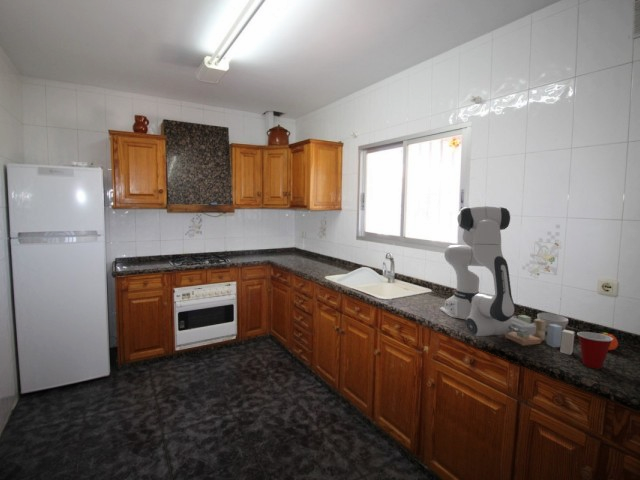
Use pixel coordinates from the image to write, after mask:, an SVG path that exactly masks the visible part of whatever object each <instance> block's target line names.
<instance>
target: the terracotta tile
mask: <svg viewBox="0 0 640 480" xmlns="http://www.w3.org/2000/svg"><path fill="white" fill-rule="evenodd" d="M516 334H517V333H516V332H514V331H510V332H509V333H508V334H504V337H505V338H506V339H509V340H511V341H512V342H515V343H517V344H519V345H521V346H531V345H538V344H539V345H540V344H542V341H541V339H540V338H537V337H535V336H533V335H529V337H524V338H523V337H520V336H518V335H516Z"/></svg>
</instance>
